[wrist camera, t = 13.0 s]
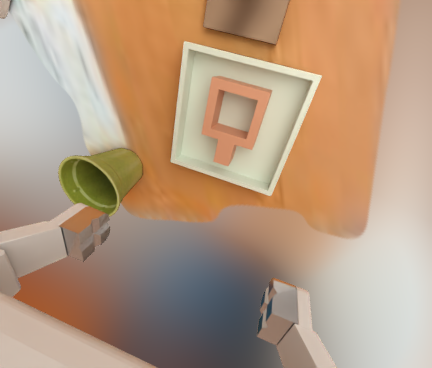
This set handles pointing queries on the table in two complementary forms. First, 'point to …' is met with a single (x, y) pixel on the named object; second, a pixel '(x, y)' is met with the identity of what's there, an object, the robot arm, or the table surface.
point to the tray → (239, 115)
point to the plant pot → (100, 178)
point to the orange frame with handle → (227, 134)
